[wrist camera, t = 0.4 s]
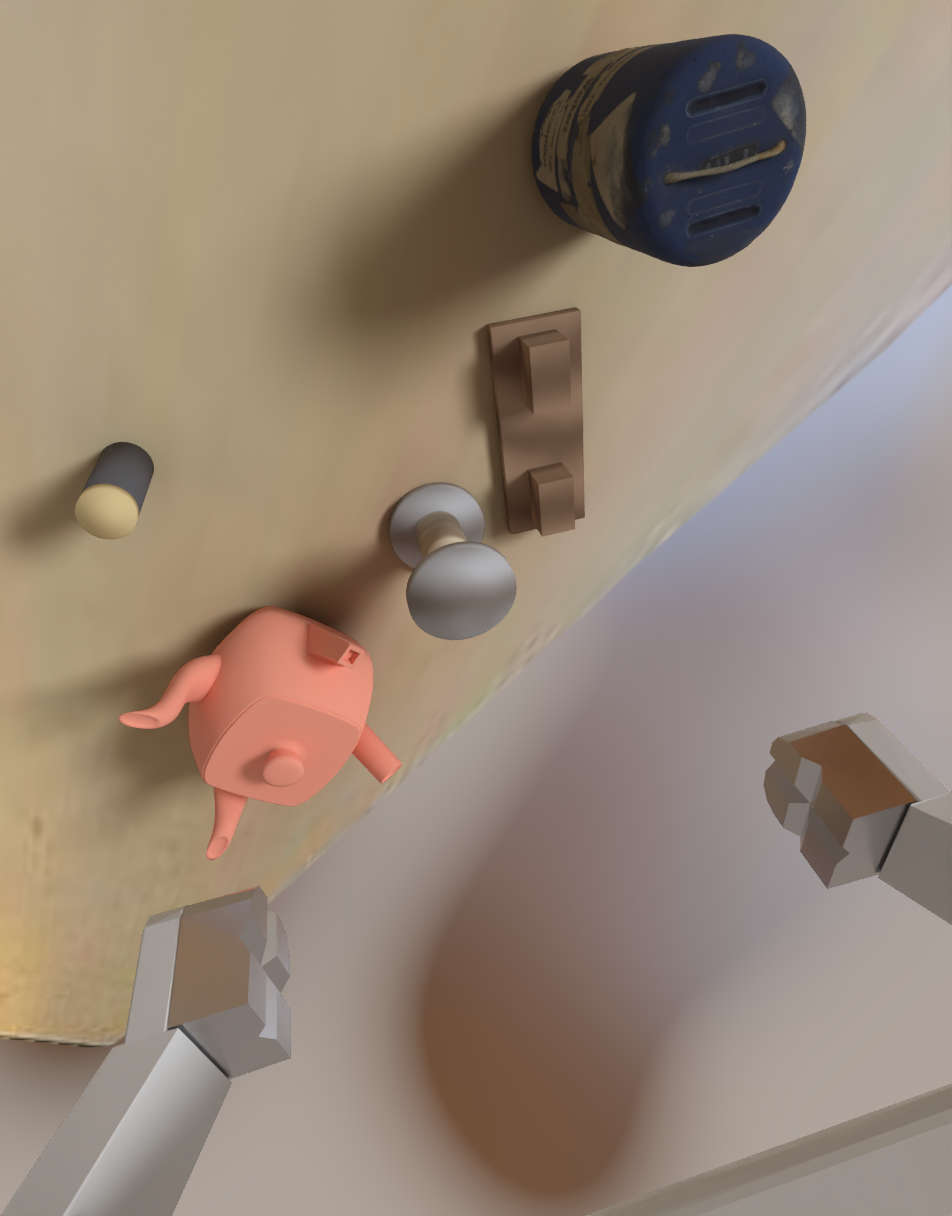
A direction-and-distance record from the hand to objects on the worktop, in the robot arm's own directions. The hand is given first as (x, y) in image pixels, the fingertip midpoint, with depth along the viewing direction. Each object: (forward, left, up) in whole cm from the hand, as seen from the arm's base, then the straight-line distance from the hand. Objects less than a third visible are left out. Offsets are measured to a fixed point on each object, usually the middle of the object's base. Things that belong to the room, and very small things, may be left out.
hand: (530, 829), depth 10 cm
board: (+14, +14, -45) cm, 50 cm away
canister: (-5, +19, -46) cm, 50 cm away
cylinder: (+10, -18, -45) cm, 50 cm away
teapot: (+32, -14, -46) cm, 58 cm away
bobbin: (+21, +4, -45) cm, 50 cm away
